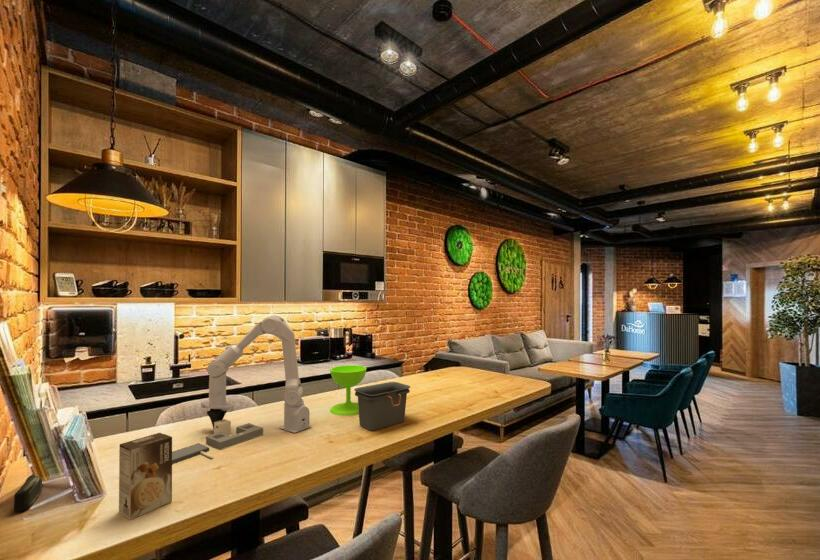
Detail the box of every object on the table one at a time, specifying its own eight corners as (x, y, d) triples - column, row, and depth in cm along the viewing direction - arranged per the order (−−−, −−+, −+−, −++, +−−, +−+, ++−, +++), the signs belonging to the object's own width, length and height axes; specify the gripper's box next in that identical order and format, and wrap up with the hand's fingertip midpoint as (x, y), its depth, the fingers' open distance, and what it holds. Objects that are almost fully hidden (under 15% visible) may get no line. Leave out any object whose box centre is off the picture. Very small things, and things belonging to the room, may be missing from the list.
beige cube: (230, 433, 138) (230, 421, 138) (219, 437, 134) (220, 424, 134) (224, 431, 140) (224, 419, 140) (213, 434, 136) (214, 422, 137)
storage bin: (392, 413, 160) (392, 380, 160) (417, 423, 148) (417, 386, 148) (350, 425, 145) (350, 388, 146) (374, 437, 134) (374, 397, 134)
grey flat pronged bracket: (220, 456, 118) (220, 452, 118) (176, 472, 108) (176, 468, 108) (198, 446, 126) (198, 442, 126) (155, 460, 115) (155, 456, 115)
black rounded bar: (10, 515, 87) (33, 488, 100) (28, 511, 88) (49, 485, 101) (11, 493, 87) (34, 469, 100) (29, 490, 89) (49, 466, 101)
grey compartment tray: (263, 434, 136) (263, 427, 137) (220, 449, 123) (220, 442, 123) (248, 429, 141) (248, 422, 142) (205, 443, 128) (206, 436, 128)
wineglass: (350, 417, 155) (350, 374, 155) (322, 411, 163) (322, 370, 164) (373, 407, 168) (373, 367, 169) (346, 402, 177) (346, 364, 177)
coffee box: (159, 494, 96) (161, 431, 96) (172, 501, 92) (173, 436, 93) (117, 512, 88) (118, 443, 89) (129, 521, 85) (131, 449, 85)
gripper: (240, 391, 141) (240, 427, 140) (212, 388, 146) (211, 423, 146) (225, 396, 134) (224, 434, 134) (196, 392, 139) (195, 429, 139)
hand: (216, 429), depth 139 cm, fingers closed
